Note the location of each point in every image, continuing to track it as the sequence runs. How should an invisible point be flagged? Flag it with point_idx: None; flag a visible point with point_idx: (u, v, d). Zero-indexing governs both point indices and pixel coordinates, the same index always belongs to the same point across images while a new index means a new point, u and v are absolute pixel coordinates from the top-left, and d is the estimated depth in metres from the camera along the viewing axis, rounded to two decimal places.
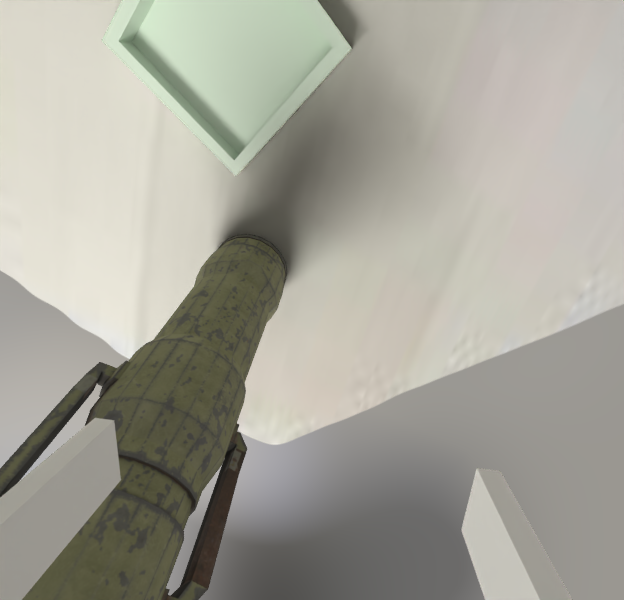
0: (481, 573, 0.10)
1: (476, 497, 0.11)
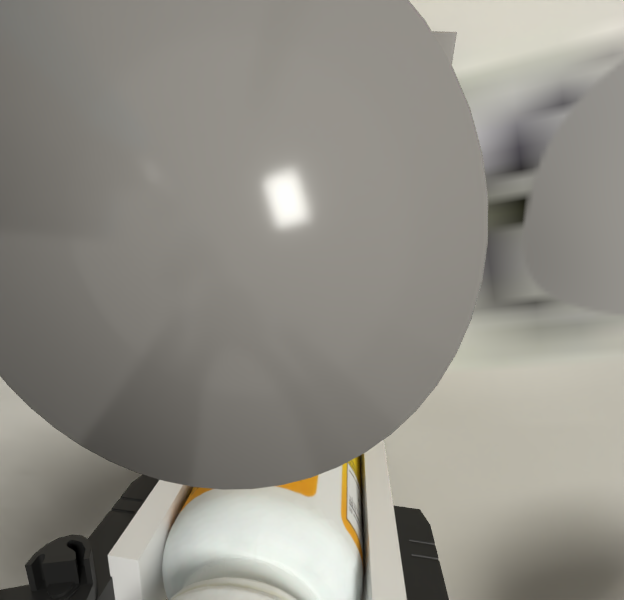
0: None
1: None
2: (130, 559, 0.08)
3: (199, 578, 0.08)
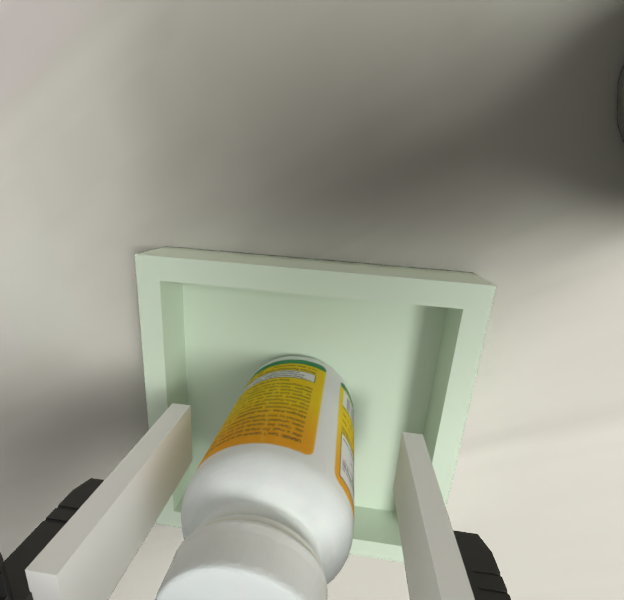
0: (400, 520, 0.12)
1: (401, 457, 0.13)
2: (48, 574, 0.07)
3: (214, 518, 0.09)
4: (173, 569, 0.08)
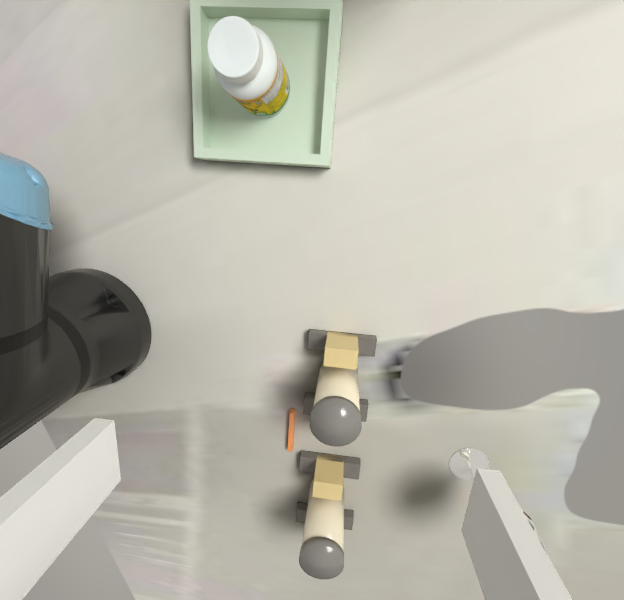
0: (481, 573, 0.10)
1: (476, 497, 0.11)
2: None
3: None
4: None
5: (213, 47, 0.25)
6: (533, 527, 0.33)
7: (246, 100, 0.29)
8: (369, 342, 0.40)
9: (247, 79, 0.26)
